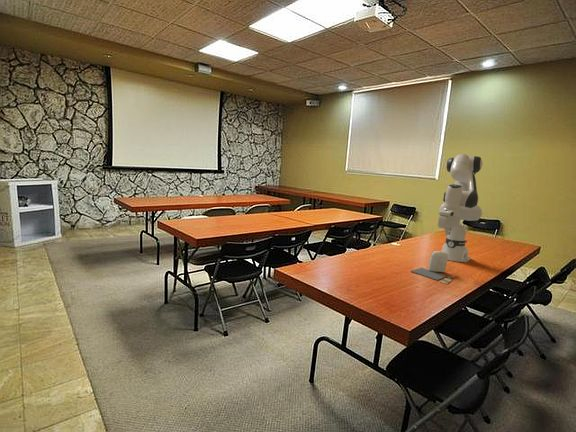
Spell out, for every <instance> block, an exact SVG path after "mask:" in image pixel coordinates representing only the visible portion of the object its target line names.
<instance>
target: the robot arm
mask: <svg viewBox="0 0 576 432" xmlns="http://www.w3.org/2000/svg"><path fill="white" fill-rule="evenodd" d="M483 164H484V163H483V160H482V158H481V156H477V155H474V156H472V155H471V156H470V155H467V154H465V153H461V154H457V155H456V156H454V157H451V158H448V159H447V161H446V163H445V168H446V171H447V172H448V173H449V175H450V177H451V178H452V179H454V184H453V183H452V184H449V185H448V186H447V188H446V191H444V194H443V198H442V201H443V203H441V205H440V206H439V208H438V210H439V212H438V215H439V216H438V222H437V226H438V228H439V229H443V230H444V232H445V233H444V234H445V236H446V237H445V243H444V244H442V249H441V251H442V252H445V253H447V254H448V259H447V261H451V262H457V263H459V262H460V263H468V262H469V261H470V260H472V257H471V256H469V250H468V248H467V246H466V244H467V242H468V239H467V240H466V234H467V229H466V227H465V226H463V225H462V224H461V220H462V221H469V222H470V221H471V222H472V221H479V220H480V219H481V217H482V215H483V209H482V207H480V206H479V204H478V203H479V194H478V190H477V180H476V174H477V173H479V172H480V171H481V169H482V168H483Z"/></svg>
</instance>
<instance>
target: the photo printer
mask: <svg viewBox="0 0 576 432" xmlns="http://www.w3.org/2000/svg"><path fill="white" fill-rule="evenodd" d="M429 257H430V258H429V262H428V268H427V270H429V271H433V272H436V273H445V272H446V269H447V263H448V260H447V259H448V254H447V253H445V252H442V250H435V251H432V252H431V253H430V256H429Z"/></svg>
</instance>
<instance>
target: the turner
mask: <svg viewBox="0 0 576 432" xmlns="http://www.w3.org/2000/svg"><path fill="white" fill-rule="evenodd" d="M453 278H454V275H452V274H451V275H449V276H447V277H446V278H443V279H441V281H440V282H439V283H440V284H442V285H443V284H444V285H449V284H450V283H451V282H452V281H453V280H452V279H453Z"/></svg>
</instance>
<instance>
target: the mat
mask: <svg viewBox="0 0 576 432" xmlns="http://www.w3.org/2000/svg"><path fill="white" fill-rule="evenodd" d="M410 272H411V273H414V274H417V275H419V276H421V277H425V278H429V279H432V280H433V281H439V280H443V279H444V278H448V275H445V274H442V273H441V272H434V271H429V270H428V268H427V269H426V268H423V267H418V268H416V269H413V270H410Z"/></svg>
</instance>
